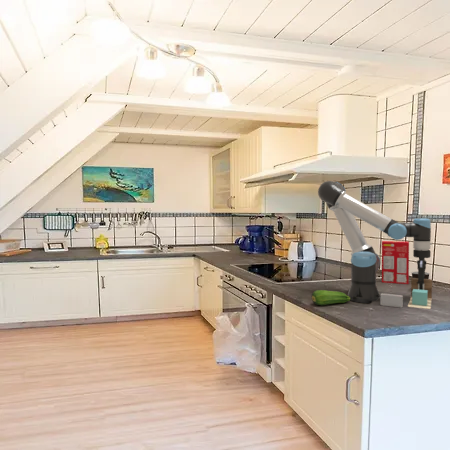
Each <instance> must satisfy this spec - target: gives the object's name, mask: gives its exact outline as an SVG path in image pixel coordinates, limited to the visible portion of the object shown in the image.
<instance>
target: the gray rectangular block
mask: <svg viewBox="0 0 450 450" xmlns="http://www.w3.org/2000/svg"><path fill="white" fill-rule="evenodd" d="M403 298H404V296H403V295H402V294H392V293H383V292H382V293H380V306H384V307H392V308H394V307H395V308H401V309H402V308H403V305H404V304H403V303H404V301H403V300H404V299H403Z"/></svg>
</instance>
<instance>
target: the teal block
mask: <svg viewBox="0 0 450 450" xmlns="http://www.w3.org/2000/svg"><path fill="white" fill-rule="evenodd" d="M427 294H428V290H419V289H413V291H412V304H413V305H422V306H427Z"/></svg>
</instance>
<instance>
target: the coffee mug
mask: <svg viewBox="0 0 450 450" xmlns="http://www.w3.org/2000/svg"><path fill="white" fill-rule="evenodd" d="M411 278H418V270H417V271H412V272H411ZM425 279H430V273H429V272H428V271H427V272H426V271H425Z"/></svg>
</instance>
